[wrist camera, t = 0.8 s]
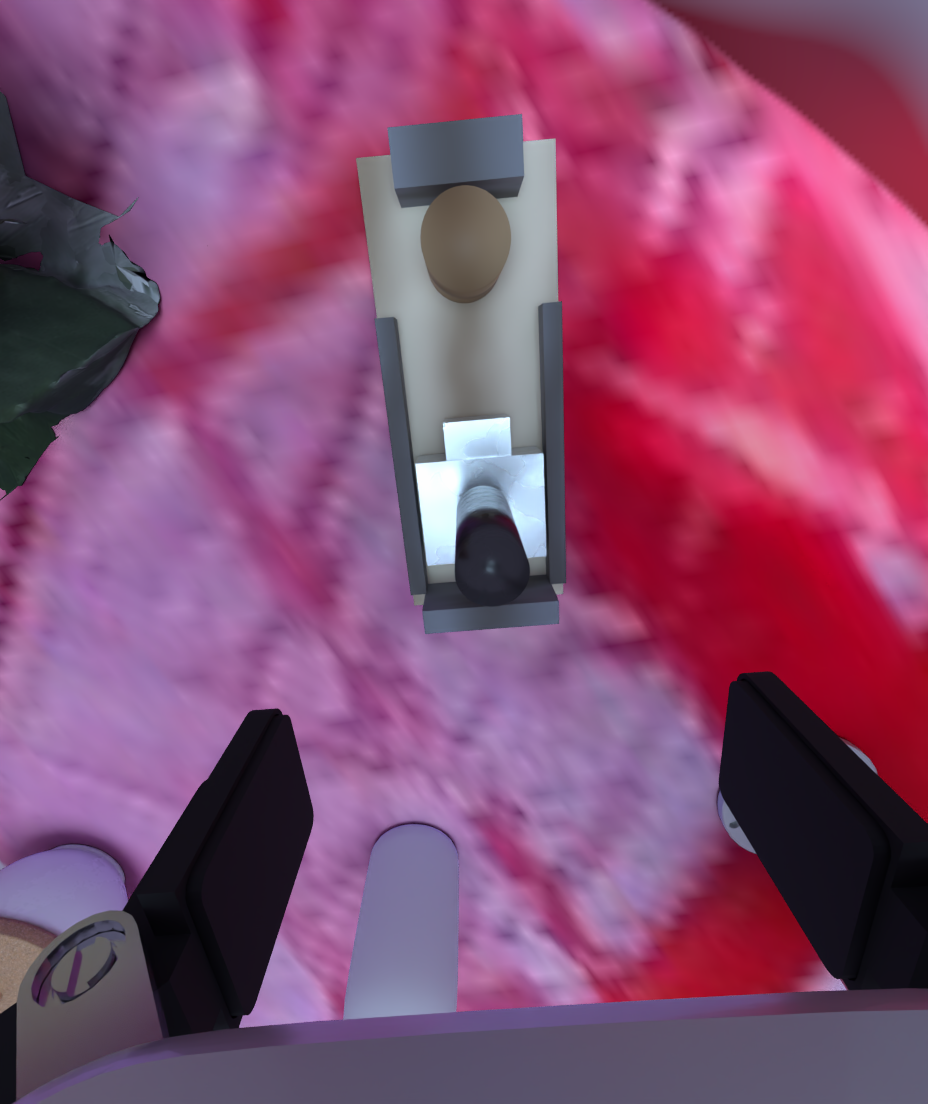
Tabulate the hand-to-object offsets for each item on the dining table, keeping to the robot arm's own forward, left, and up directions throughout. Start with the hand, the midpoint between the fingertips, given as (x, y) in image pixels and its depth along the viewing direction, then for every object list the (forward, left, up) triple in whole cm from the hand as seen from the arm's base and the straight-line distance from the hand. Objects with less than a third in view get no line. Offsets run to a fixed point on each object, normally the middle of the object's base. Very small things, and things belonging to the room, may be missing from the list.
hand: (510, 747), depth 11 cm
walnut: (+8, -10, -22) cm, 26 cm away
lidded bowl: (+8, +49, -24) cm, 55 cm away
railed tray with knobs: (+3, -4, -24) cm, 25 cm away
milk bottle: (-15, +30, -24) cm, 41 cm away
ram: (0, -1, -22) cm, 22 cm away
